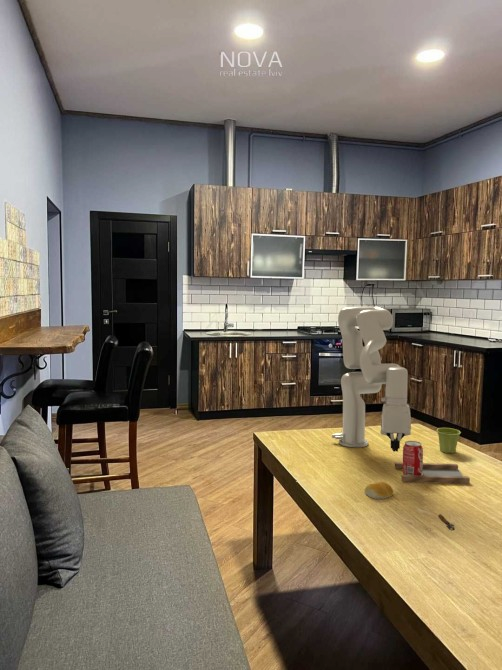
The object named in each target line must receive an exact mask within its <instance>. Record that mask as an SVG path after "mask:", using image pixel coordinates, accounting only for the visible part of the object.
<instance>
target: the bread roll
mask: <svg viewBox="0 0 502 670" xmlns="http://www.w3.org/2000/svg"><path fill="white" fill-rule="evenodd" d="M364 493H365V495H366V496H368V497H370V498H372V499H375V500H384V499H387V498H391V497H392V496H393V495H394V490H393V487H392V486H391V484H389V483H387V482H384V481H379V482H374V483H369V484H368V485H366V486H365V488H364Z"/></svg>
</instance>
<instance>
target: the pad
mask: <svg viewBox="0 0 502 670" xmlns="http://www.w3.org/2000/svg"><path fill="white" fill-rule="evenodd" d="M422 475H429V476H464V474H462V473H461V471H460V470H459V469H458V470H441V469H423V470H422Z"/></svg>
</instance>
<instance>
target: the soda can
mask: <svg viewBox="0 0 502 670" xmlns="http://www.w3.org/2000/svg"><path fill="white" fill-rule="evenodd" d="M402 463H403V469H402V474H403V475H423V474H422V470H423V463H424V448H423V446H422V442H419V441H417V440H406V441H405V442H404V445H403V447H402Z"/></svg>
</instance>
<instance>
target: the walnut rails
mask: <svg viewBox="0 0 502 670" xmlns="http://www.w3.org/2000/svg"><path fill="white" fill-rule="evenodd" d="M394 469H395V470H403V462H394ZM423 469H441V470H459V464H458V463H439V462H438V463H437V462H436V463H433V462H432V463H431V462H430V463H429V462H423ZM401 482H402V483H423V484H424V483H426V484H427V483H429V484H430V483H431V484H463V485H464V484H471V483H470V482H471V481H470V477H469V476H468V475H467V476H464V475H463V476H429V475H423V474H422V475H405V474H402V475H401Z"/></svg>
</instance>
